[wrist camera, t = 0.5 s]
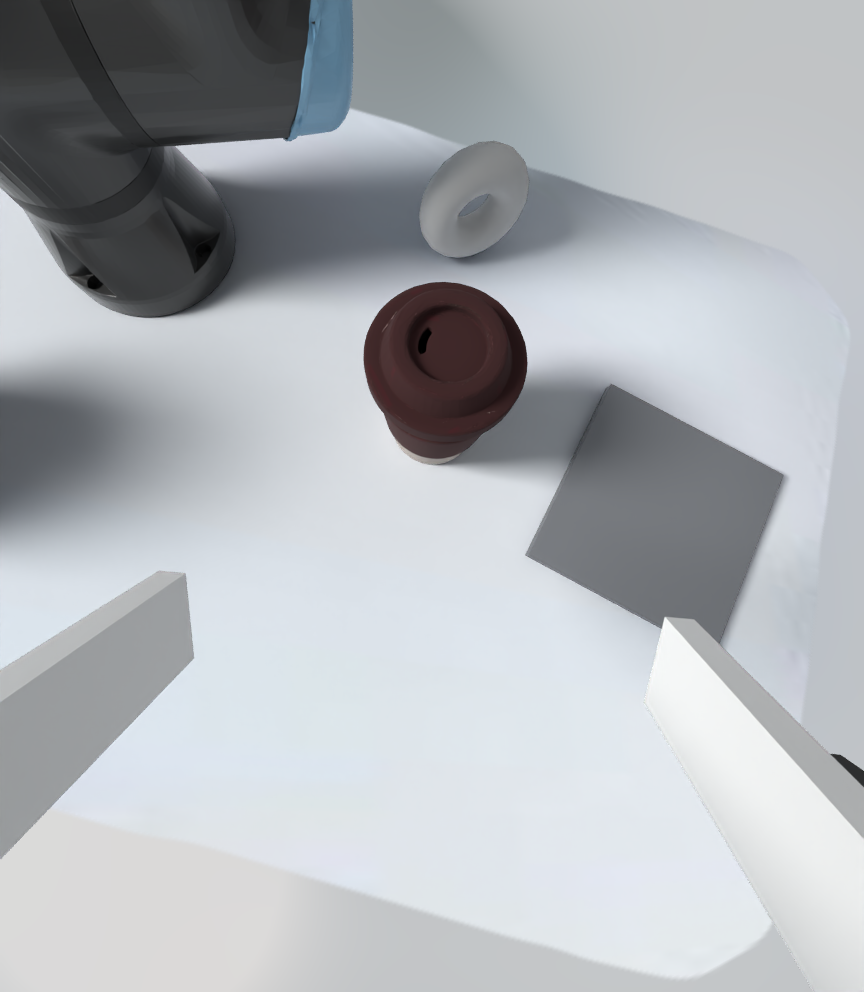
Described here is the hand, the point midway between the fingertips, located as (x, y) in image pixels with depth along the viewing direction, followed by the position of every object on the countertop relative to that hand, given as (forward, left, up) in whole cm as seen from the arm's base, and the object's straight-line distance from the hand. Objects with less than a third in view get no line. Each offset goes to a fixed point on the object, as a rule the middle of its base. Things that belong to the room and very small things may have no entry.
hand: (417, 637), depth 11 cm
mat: (+3, +23, -25) cm, 34 cm away
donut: (-28, +17, -25) cm, 41 cm away
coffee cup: (-12, +7, -25) cm, 29 cm away
